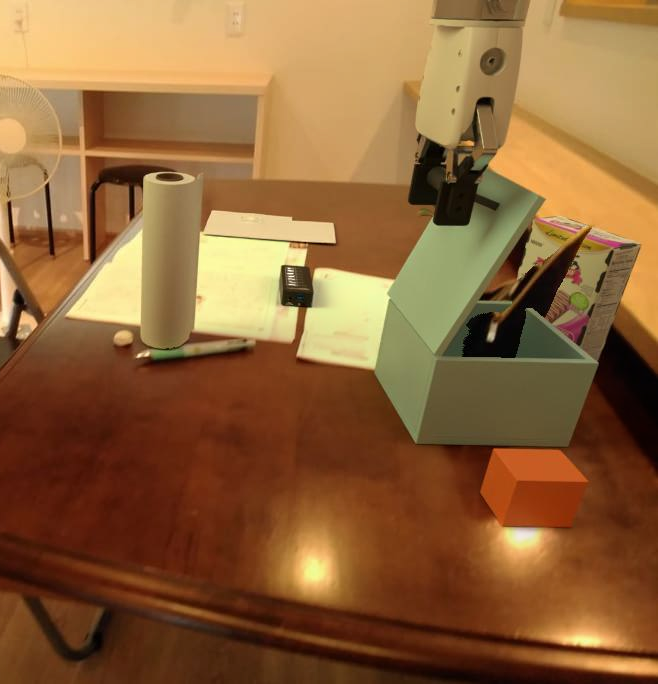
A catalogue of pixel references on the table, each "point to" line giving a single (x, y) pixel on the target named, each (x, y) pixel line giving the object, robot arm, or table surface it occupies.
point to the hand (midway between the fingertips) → (436, 212)
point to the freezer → (485, 384)
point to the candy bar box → (583, 279)
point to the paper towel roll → (169, 257)
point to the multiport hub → (296, 286)
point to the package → (533, 487)
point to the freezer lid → (461, 258)
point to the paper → (268, 227)
